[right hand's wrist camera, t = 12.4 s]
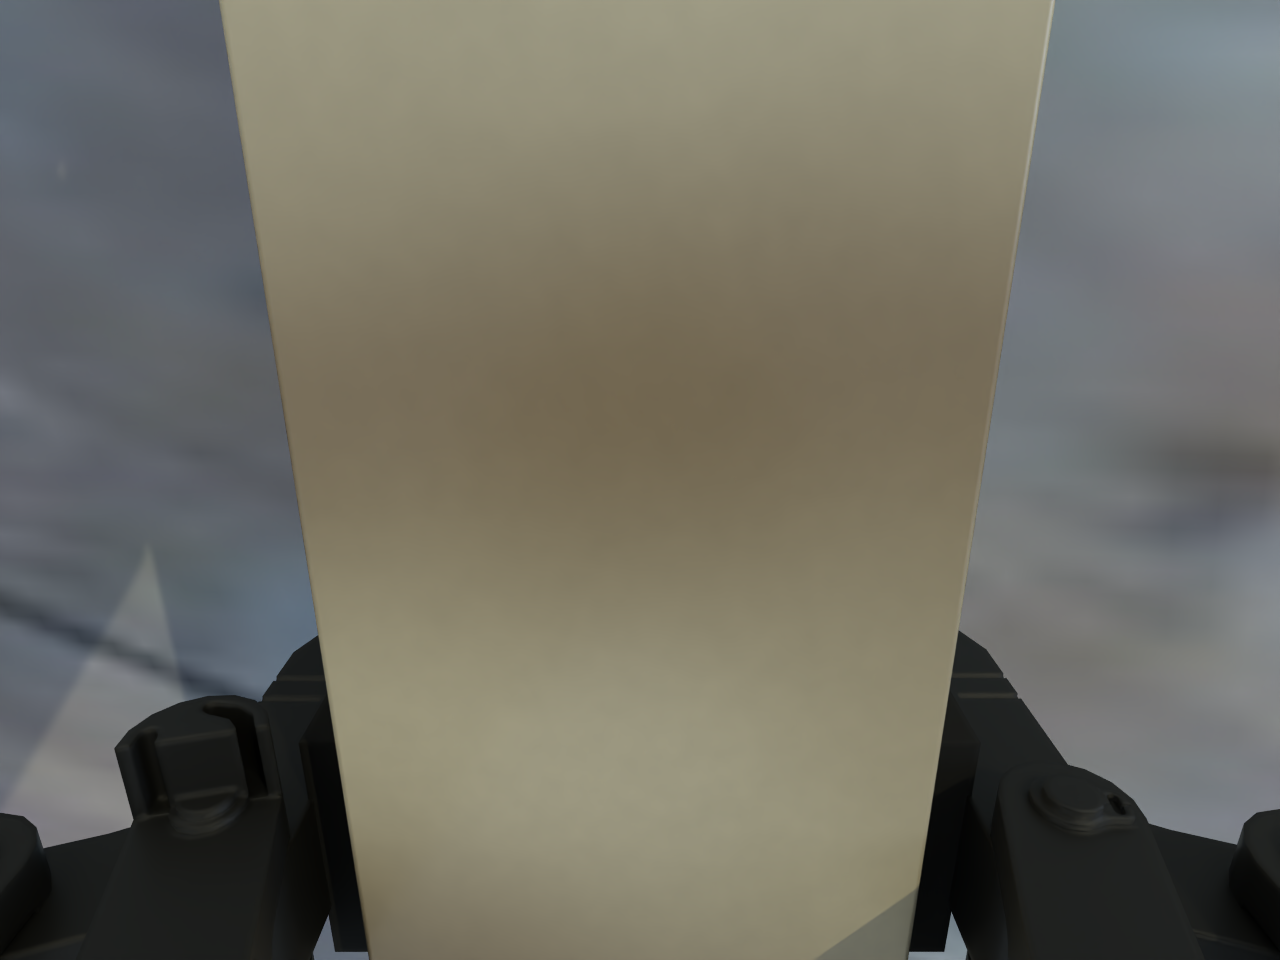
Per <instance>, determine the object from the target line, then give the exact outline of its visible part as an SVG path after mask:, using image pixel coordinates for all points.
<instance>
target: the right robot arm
mask: <svg viewBox="0 0 1280 960" xmlns="http://www.w3.org/2000/svg"><path fill="white" fill-rule="evenodd" d="M114 749H115V753H116V757H117V760H118V764H119V768H120V771H121V775H122V779H123V782H124V786H125V790H126V793H127V797H128V801H129V804H130V808H131V812H132V815H133V819H134V820H133V823H132V825H131V827H130V828H127V829H123V830H120V831H116V832H113V833H110V834H105V835H101V836H96V837H92V838H87V839H83V840H79V841H74V842H70V843H65V844H61V845H56V846H52V847H47V848H43V846H42V843H41V840H40V837H39V834H38V831H37V828H36V827H35V826H34V825H33V824H32V823H31V822H30V821H28V820H27V819H26V818H25V817H24V816H18V815H11V814H5V813H0V960H314V955H313V951H314V948H315V946H316V943H317V941H318V939H319V936H320V934H321V931H322V929H323V926H324V924H325V922H326V919H327V917H328V914H329V920H330V925H331V931H332V937H333V942H334V948H335V952H368V949H367V942H366V936H365V929H364V923H363V917H362V910H361V904H360V898H359V891H358V885H357V878H356V872H355V866H354V859H353V853H352V846H351V840H350V834H349V827H348V821H347V815H346V808H345V802H344V795H343V789H342V783H341V776H340V770H339V763H338V757H337V751H336V744H335V738H334V732H333V725H332V719H331V712H330V706H329V700H328V693H327V687H326V680H325V674H324V668H323V661H322V655H321V649H320V642H319V636H316V637H315V638H313V639H312V640H311V641H309V642H308V643H306V644H305V645H303V646H302V647H301V648H299V649H298V650H296V651H295V652H294V653H293V654H292V655H291V657H290V658H289V660H288V661H287V662H286V664H285V665H284V667H283V668H282V670H281V671H280V672H279V674H278V675H277V680H276V681H273V682H272V684H271V685H270V687H269V688H268V689H267V691H266V692H265V694H264V695H263V700H262V702H257V701H255V700H252V699H248V698H244V697H240V696H236V695H225V696H206V697H202V698H198V699H194V700H189V701H185V702H181V703H178V704H176V705H173V706H171V707H169V708H166V709H164V710H162V711H159V712H157V713H155V714H152V715H151V716H149V717H148V718H146V719H145V720H143V721H142V722H141V723H139V724H138V725H136V726H135V727H133V728H132V729H130V730H129V731H128V732H127V733H126V735H125V736H124V737H123V738H122V740H121V741H120V742H119V743H118V745H117V746H116V747H115V748H114ZM951 912H952V914H953V916H954V919H955V921H956V924H957V926H958V929H959V931H960V933H961V936H962V938H963V941H964V943H965V945H966V948H967V955H966V960H1280V809H1277V810H1271V811H1264V812H1258V813H1256V814H1255V815H1253V816H1252V817H1251V818H1250V819H1249V820H1248V821H1246V822H1245V823H1244V825H1243V828H1242V831H1241V835H1240V838H1239V841H1238V844H1237V845H1235V844H1231V843H1226V842H1222V841H1217V840H1213V839H1208V838H1204V837H1200V836H1195V835H1191V834H1186V833H1182V832H1177V831H1173V830H1169V829H1165V828H1162V827H1159V826H1155V825H1152V824H1149V823H1148V821H1147V819H1146V817H1145V816H1144V814H1143V813H1142V812H1141V810H1140V809H1139V807H1138V806H1137V804H1136V803H1135V801H1134V800H1133V799H1132V798H1131V797H1129V796H1128V795H1127V794H1126V793H1124V792H1123V791H1122V790H1121V789H1119V788H1118V787H1117V786H1116V785H1114V784H1113V783H1112V782H1110V781H1108V780H1106V779H1104V778H1102V777H1100V776H1098V775H1096V774H1093V773H1091V772H1089V771H1087V770H1085V769H1082V768H1078V767H1074V766H1070V765H1068V764H1067V763H1066V761H1065V760H1064V759H1063V757H1062V756H1061V754H1060V753H1059V752H1058V750H1057V749H1056V747H1055V746H1054V744H1053V743H1052V742H1051V740H1050V739H1049V737H1048V736H1047V735H1046V733H1045V732H1044V730H1043V729H1042V728H1041V726H1040V725H1039V723H1038V722H1037V720H1036V719H1035V718H1034V716H1033V715H1032V713H1031V712H1030V711H1029V709H1028V708H1027V706H1026V705H1025V704H1024V702H1023V701H1022V699H1018V697H1017V692H1016V691H1015V689H1014V688H1013V687H1012V685H1011V684H1010V682H1009V681H1008V680H1007V678H1003V673H1002V671H1001V670H1000V668H999V667H998V665H997V664H996V663H995V661H994V660H993V658H992V657H991V656H990V654H989V653H988V651H987V650H986V649H985V648H983V647H982V646H980V645H979V644H977V643H976V642H975V641H973V640H972V639H970V638H969V637H967V636H966V635H964V634H963V633H962V632H960V631H959V630H958V636H957V643H956V649H955V656H954V662H953V669H952V675H951V682H950V688H949V695H948V701H947V708H946V714H945V721H944V727H943V734H942V740H941V747H940V753H939V760H938V766H937V773H936V779H935V786H934V792H933V799H932V805H931V812H930V818H929V825H928V831H927V838H926V844H925V851H924V857H923V864H922V870H921V877H920V883H919V890H918V896H917V903H916V909H915V916H914V922H913V929H912V935H911V942H910V948H909V952H944V950H945V944H946V939H947V933H948V927H949V922H950V916H951Z"/></svg>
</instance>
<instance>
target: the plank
mask: <svg viewBox="0 0 1280 960" xmlns="http://www.w3.org/2000/svg"><path fill="white" fill-rule="evenodd" d="M219 4H220V10H221V17H222V23H223V29H224V36H225V42H226V49H227V55H228V61H229V68H230V74H231V80H232V87H233V93H234V100H235V106H236V112H237V119H238V125H239V132H240V138H241V144H242V151H243V157H244V163H245V170H246V176H247V183H248V189H249V195H250V202H251V208H252V215H253V221H254V227H255V234H256V240H257V246H258V253H259V259H260V266H261V272H262V278H263V285H264V291H265V297H266V304H267V310H268V317H269V323H270V329H271V336H272V342H273V349H274V355H275V361H276V368H277V374H278V380H279V387H280V393H281V400H282V406H283V412H284V419H285V425H286V432H287V438H288V444H289V451H290V457H291V463H292V470H293V476H294V483H295V489H296V495H297V502H298V508H299V515H300V521H301V527H302V534H303V540H304V546H305V553H306V559H307V566H308V572H309V578H310V585H311V591H312V598H313V604H314V610H315V617H316V623H317V629H318V636H319V642H320V649H321V655H322V661H323V668H324V674H325V680H326V687H327V693H328V700H329V706H330V712H331V719H332V725H333V732H334V738H335V744H336V751H337V757H338V763H339V770H340V776H341V783H342V789H343V795H344V802H345V808H346V815H347V821H348V827H349V834H350V840H351V846H352V853H353V859H354V866H355V872H356V878H357V885H358V891H359V898H360V904H361V910H362V917H363V923H364V929H365V936H366V942H367V949H368V955H369V960H908V955H909V948H910V942H911V935H912V929H913V922H914V916H915V909H916V903H917V896H918V890H919V883H920V877H921V870H922V864H923V857H924V851H925V844H926V838H927V831H928V825H929V818H930V812H931V805H932V799H933V792H934V786H935V779H936V773H937V766H938V760H939V753H940V747H941V740H942V734H943V727H944V721H945V714H946V708H947V701H948V695H949V688H950V682H951V675H952V669H953V662H954V656H955V649H956V643H957V636H958V630H959V623H960V617H961V610H962V604H963V597H964V591H965V584H966V578H967V571H968V565H969V558H970V552H971V545H972V539H973V532H974V526H975V519H976V513H977V506H978V500H979V493H980V487H981V480H982V474H983V467H984V461H985V454H986V448H987V441H988V435H989V428H990V422H991V415H992V409H993V402H994V396H995V389H996V383H997V376H998V370H999V363H1000V357H1001V350H1002V344H1003V337H1004V331H1005V324H1006V318H1007V311H1008V305H1009V298H1010V292H1011V285H1012V279H1013V272H1014V266H1015V259H1016V253H1017V246H1018V240H1019V233H1020V227H1021V220H1022V214H1023V207H1024V201H1025V194H1026V188H1027V181H1028V175H1029V168H1030V162H1031V155H1032V149H1033V142H1034V135H1035V129H1036V122H1037V116H1038V109H1039V103H1040V96H1041V90H1042V83H1043V77H1044V70H1045V64H1046V57H1047V51H1048V44H1049V38H1050V31H1051V25H1052V18H1053V12H1054V5H1055V0H219Z"/></svg>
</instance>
